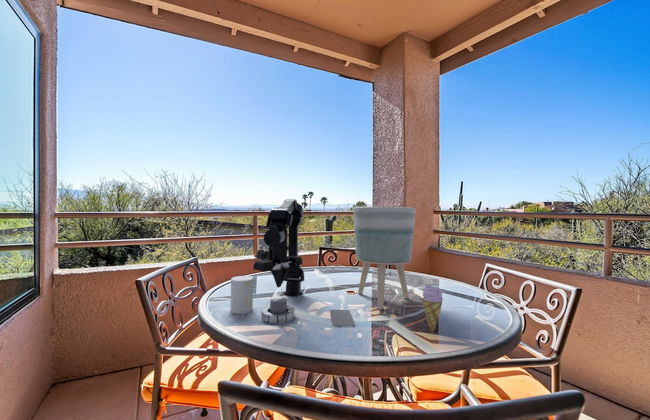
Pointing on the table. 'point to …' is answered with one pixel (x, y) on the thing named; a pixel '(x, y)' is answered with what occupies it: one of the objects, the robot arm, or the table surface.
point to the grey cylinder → (241, 294)
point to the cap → (278, 305)
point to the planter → (383, 242)
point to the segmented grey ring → (277, 315)
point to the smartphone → (341, 318)
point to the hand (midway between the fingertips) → (278, 287)
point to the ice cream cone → (432, 305)
